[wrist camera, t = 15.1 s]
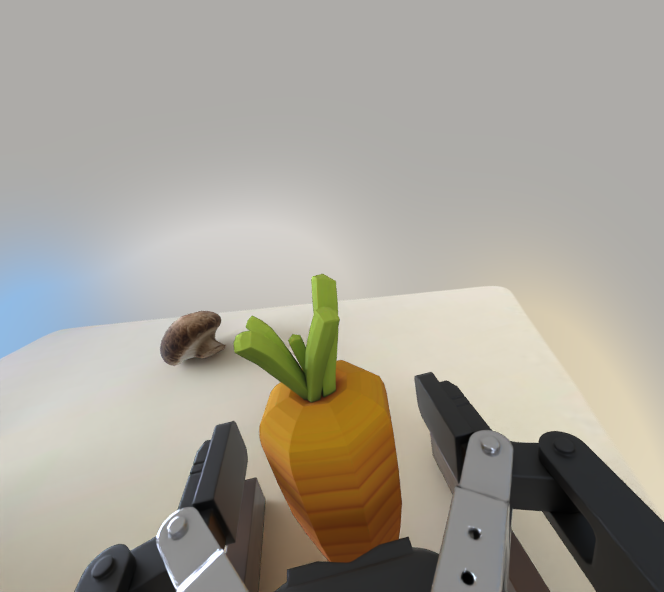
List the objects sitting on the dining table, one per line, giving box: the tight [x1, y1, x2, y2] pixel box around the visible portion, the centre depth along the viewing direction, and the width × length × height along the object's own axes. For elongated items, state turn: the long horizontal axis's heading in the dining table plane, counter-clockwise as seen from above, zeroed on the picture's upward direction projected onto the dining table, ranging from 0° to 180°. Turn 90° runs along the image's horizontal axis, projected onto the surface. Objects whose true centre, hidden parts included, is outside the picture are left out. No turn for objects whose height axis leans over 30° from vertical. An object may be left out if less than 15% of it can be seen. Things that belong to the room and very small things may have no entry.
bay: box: [225, 433, 550, 592], centre depth 14 cm, size 12×13×2 cm
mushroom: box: [160, 311, 225, 366], centre depth 39 cm, size 8×8×6 cm
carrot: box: [234, 274, 402, 563], centre depth 13 cm, size 5×5×15 cm
